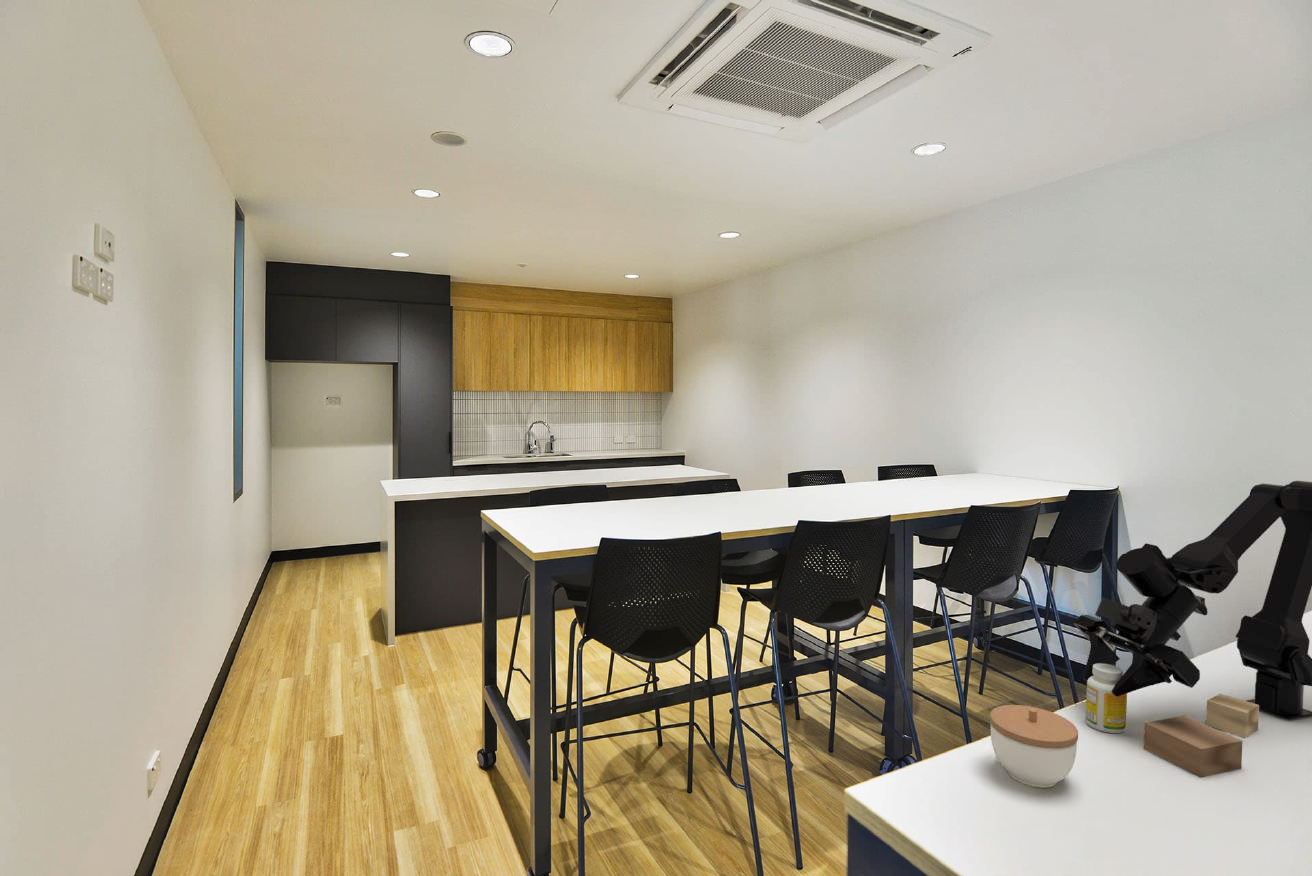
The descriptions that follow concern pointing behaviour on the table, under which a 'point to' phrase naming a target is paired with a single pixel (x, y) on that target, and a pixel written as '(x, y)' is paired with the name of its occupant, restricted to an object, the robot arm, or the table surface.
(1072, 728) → the lidded jar
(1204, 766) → the walnut block
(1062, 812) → the table surface
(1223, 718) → the oak block
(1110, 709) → the supplement bottle
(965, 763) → the table surface
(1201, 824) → the table surface
